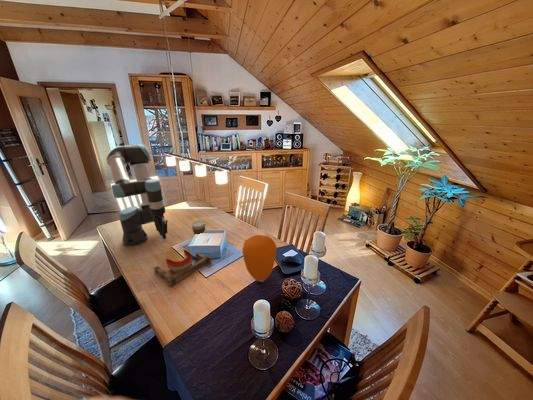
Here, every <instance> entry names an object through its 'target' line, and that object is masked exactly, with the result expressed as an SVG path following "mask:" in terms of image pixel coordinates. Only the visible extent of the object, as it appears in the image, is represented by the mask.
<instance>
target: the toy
mask: <svg viewBox="0 0 533 400" xmlns="http://www.w3.org/2000/svg"><path fill="white" fill-rule="evenodd" d="M182 251H183V255H184V259H183V260H181V261H175V260H171V259H170V258H166V260H165V261H166V265H167V268H168V269H169V270H168V271H169V272H170V273H172V274H174V275H176V274H178V273H180V272H181V271H183V270H185V269H186V268H188V267H190V266H191V265H193V260H192V259H193V256H191V254H190V253H189V250H187V249H183V250H182Z"/></svg>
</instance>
